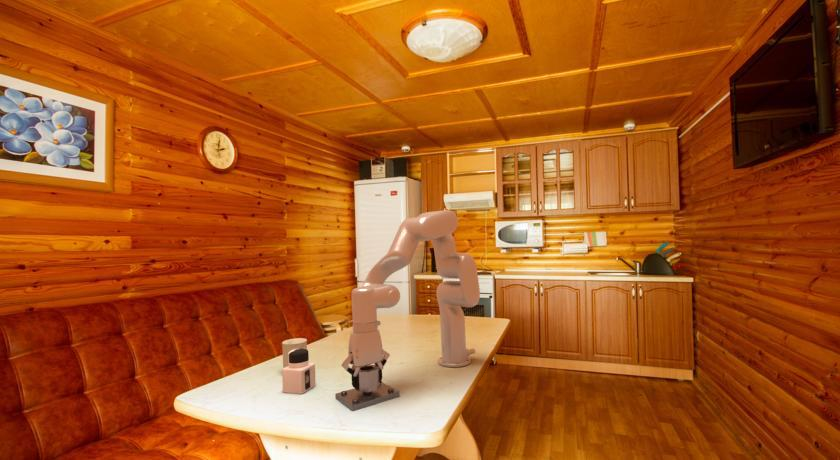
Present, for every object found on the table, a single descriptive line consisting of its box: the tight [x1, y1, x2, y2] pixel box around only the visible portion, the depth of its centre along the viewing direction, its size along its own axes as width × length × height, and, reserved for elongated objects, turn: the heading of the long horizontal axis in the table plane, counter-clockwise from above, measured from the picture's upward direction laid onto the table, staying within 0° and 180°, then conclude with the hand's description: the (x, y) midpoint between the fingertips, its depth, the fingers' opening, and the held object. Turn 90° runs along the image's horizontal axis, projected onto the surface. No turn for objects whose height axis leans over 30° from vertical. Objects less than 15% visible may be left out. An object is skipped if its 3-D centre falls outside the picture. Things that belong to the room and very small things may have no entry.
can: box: [281, 337, 308, 369], centre depth 149 cm, size 9×9×12 cm
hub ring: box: [356, 364, 380, 392], centre depth 120 cm, size 7×7×6 cm
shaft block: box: [334, 381, 401, 412], centre depth 120 cm, size 16×12×7 cm
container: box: [281, 348, 317, 395], centre depth 130 cm, size 8×8×13 cm
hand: (367, 384), depth 120 cm, fingers closed on hub ring, 7 cm apart
